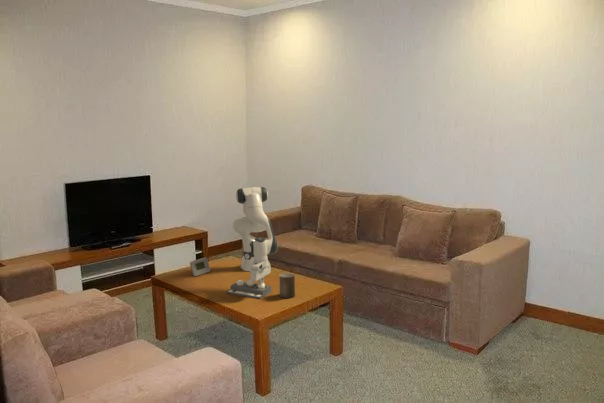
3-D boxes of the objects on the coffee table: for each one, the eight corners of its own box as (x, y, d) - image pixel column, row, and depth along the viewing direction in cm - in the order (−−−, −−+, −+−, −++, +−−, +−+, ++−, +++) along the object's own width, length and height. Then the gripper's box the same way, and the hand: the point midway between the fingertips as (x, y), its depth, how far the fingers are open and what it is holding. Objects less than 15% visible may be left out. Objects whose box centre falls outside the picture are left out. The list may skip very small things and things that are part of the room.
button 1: (239, 286, 322) (238, 279, 321) (244, 286, 320) (244, 280, 319) (235, 288, 318) (235, 281, 317) (241, 289, 316) (241, 282, 315)
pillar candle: (296, 297, 305) (296, 274, 302) (281, 299, 302) (281, 275, 300) (292, 292, 314) (292, 270, 312) (277, 294, 311) (277, 271, 309)
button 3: (260, 289, 315) (259, 282, 314) (266, 289, 313) (265, 283, 312) (256, 291, 311) (256, 284, 310) (262, 292, 309) (262, 285, 308)
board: (239, 286, 326) (239, 280, 325) (272, 291, 316) (271, 285, 315) (226, 293, 313) (226, 287, 312) (260, 298, 302) (260, 292, 302)
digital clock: (193, 277, 345) (193, 263, 343) (187, 274, 351) (186, 260, 350) (213, 272, 356) (212, 258, 354) (206, 270, 362) (206, 256, 361)
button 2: (249, 284, 318) (249, 278, 317) (255, 285, 316) (255, 279, 315) (245, 286, 314) (245, 280, 313) (251, 287, 312) (251, 281, 311)
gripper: (264, 258, 320) (264, 278, 322) (248, 266, 301) (248, 288, 303) (272, 259, 317) (273, 279, 319) (257, 267, 299) (257, 289, 301)
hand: (261, 283), depth 311 cm, fingers closed, pressing on button 3
